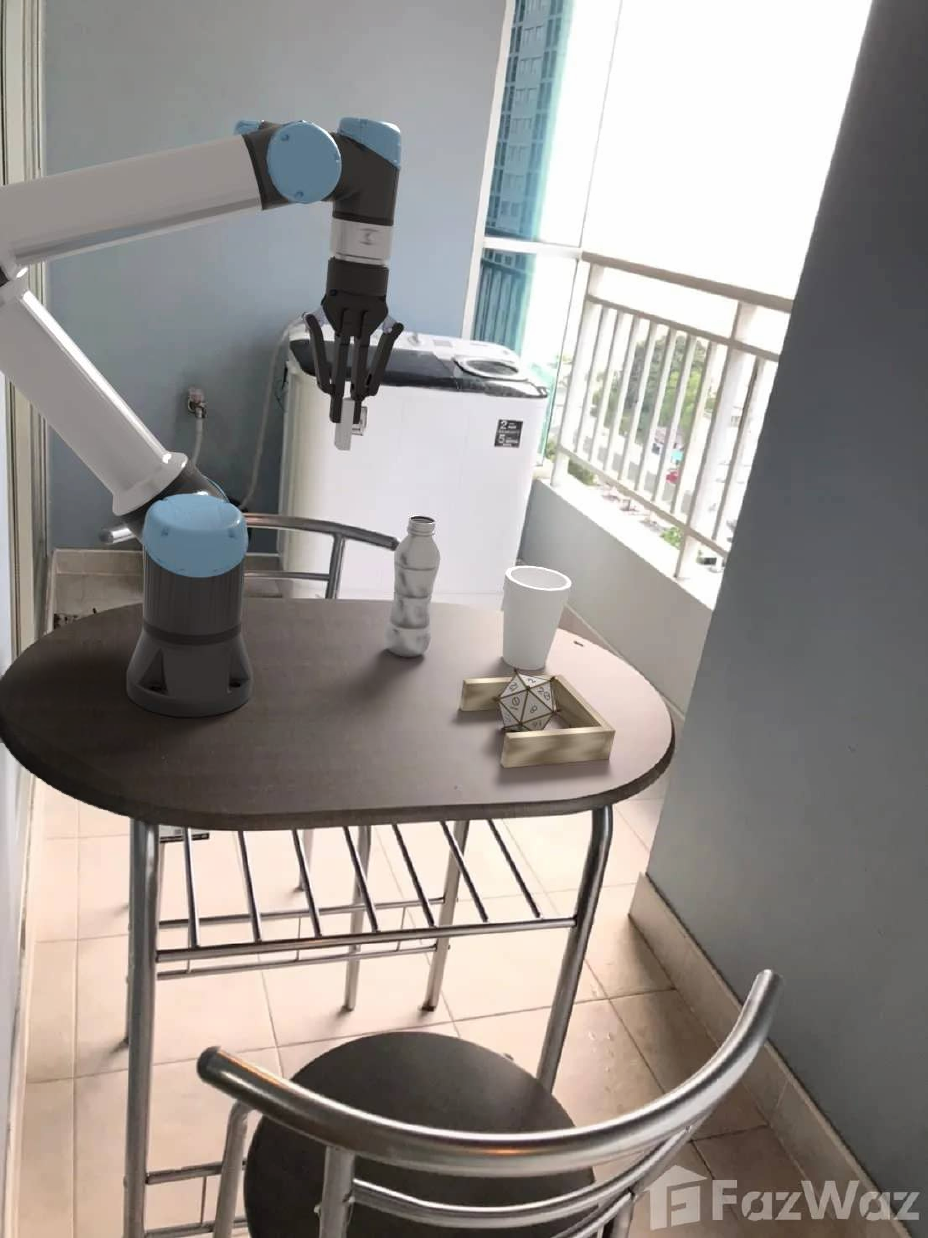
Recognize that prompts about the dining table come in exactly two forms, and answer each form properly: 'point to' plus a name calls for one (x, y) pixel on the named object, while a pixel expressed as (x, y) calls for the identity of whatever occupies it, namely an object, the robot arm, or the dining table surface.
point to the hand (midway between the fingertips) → (341, 447)
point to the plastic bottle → (413, 589)
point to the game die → (527, 703)
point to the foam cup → (532, 614)
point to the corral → (547, 746)
